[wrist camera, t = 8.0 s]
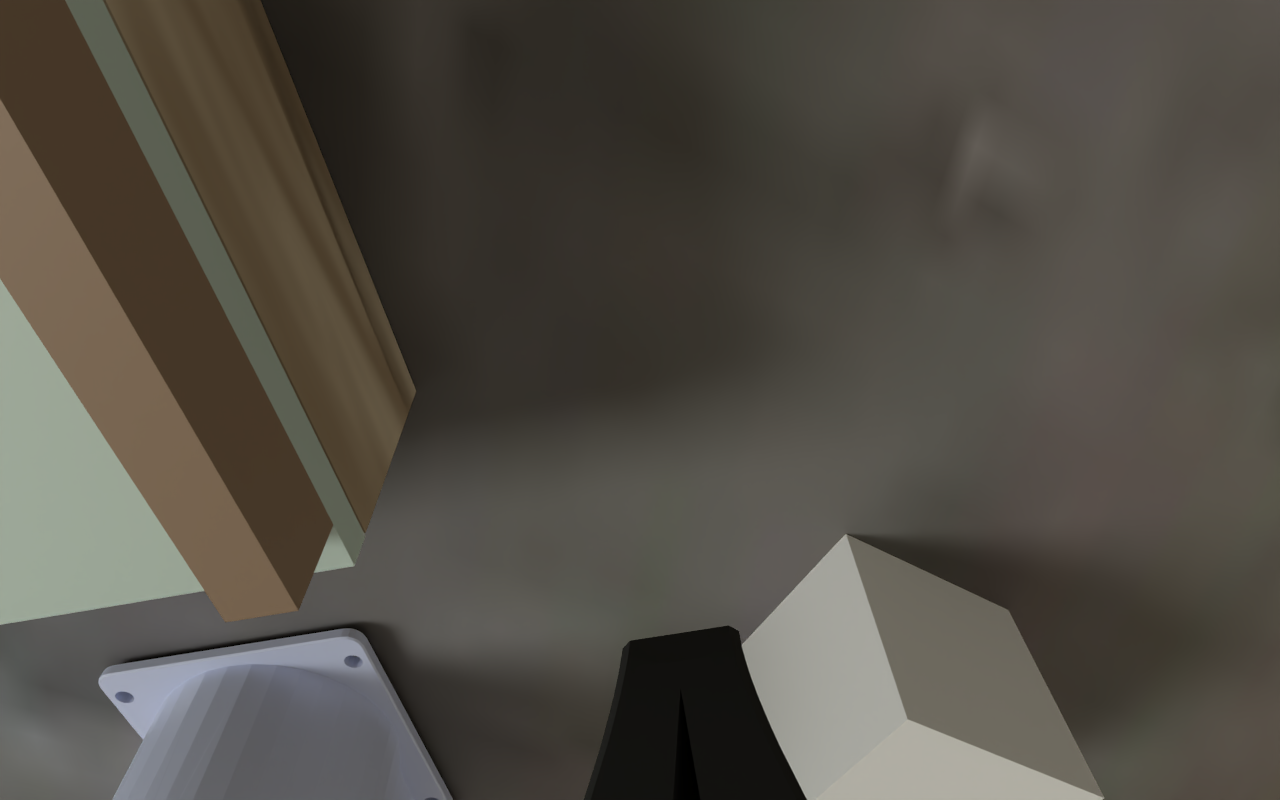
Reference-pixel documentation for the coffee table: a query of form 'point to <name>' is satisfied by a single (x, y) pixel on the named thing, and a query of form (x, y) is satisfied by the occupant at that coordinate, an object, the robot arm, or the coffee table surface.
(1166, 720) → the coffee table surface
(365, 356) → the storage box
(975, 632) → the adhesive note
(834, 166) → the coffee table surface
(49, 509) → the lid
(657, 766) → the robot arm
